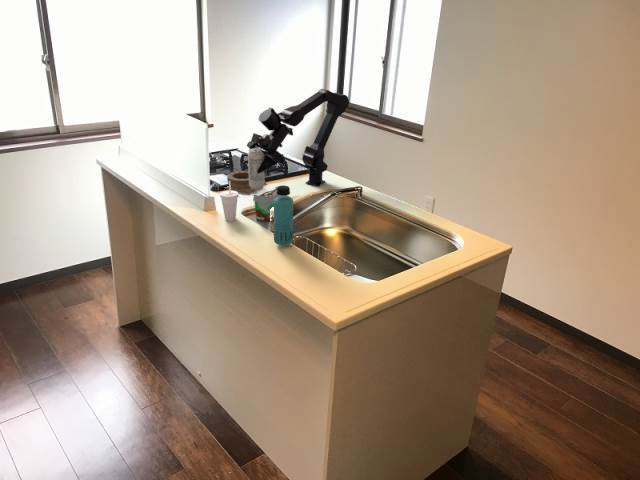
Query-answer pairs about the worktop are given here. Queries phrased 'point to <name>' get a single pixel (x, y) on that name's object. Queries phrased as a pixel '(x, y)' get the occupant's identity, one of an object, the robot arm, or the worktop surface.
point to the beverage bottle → (283, 217)
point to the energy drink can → (255, 168)
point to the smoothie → (229, 203)
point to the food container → (264, 205)
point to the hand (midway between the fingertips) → (253, 170)
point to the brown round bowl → (239, 182)
